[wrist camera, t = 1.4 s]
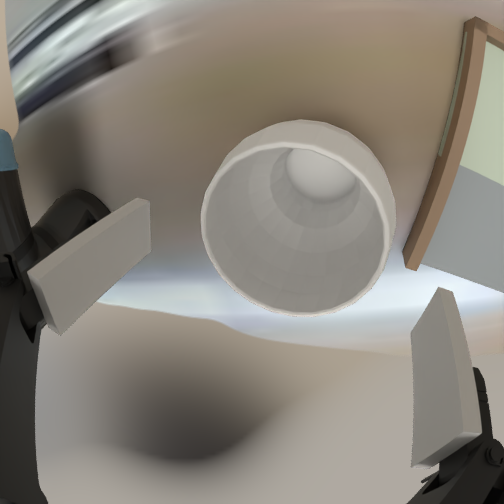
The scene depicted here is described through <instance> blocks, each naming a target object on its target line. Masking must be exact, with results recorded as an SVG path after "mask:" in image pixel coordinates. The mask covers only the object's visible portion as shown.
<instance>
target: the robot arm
mask: <svg viewBox="0 0 504 504" xmlns="http://www.w3.org/2000/svg"><path fill="white" fill-rule="evenodd" d="M18 168H19V167H18V163H17V162H16V159H15V155H14V150H13V145H12V140H11V137H10V135H9V134H8V132H6V131H5V130H2V129H0V504H48V502H47V499H46V497H45V495H44V494H43V492H42V491H41V489H40V486H39V481H38V472H37V461H36V446H35V388H36V387H35V386H36V372H37V361H38V351H39V342H40V335H41V329H42V328H43V327H44V326H45V325H46V324H47V325H48V327H49V328H50V329H51V330H53V331H54V332H55V333H57V334H58V335H60V336H61V335H62V334H63V333H64V332H65V331H66V330H67V329H68V328H69V327H70V326H71V325H72V324H73V323H74V322H75V321H76V320H77V319H78V318H79V317H80V316H81V315H82V314H83V313H84V312H85V311H87V310H88V308H90V307H91V306H92V305H93V304H94V303H95V302H96V301H97V300H98V299H99V298H100V297H101V296H102V295H103V294H104V293H105V292H106V291H108V290H109V289H110V288H111V287H112V286H113V285H114V284H115V283H116V282H117V281H118V280H119V279H121V278H122V277H123V276H124V275H125V274H126V273H127V272H128V271H129V270H130V269H132V268H133V267H134V266H135V265H136V264H137V263H138V262H139V261H140V260H142V259H143V258H144V257H145V256H146V255H147V254H148V253H150V252H151V251H152V250H151V228H150V201H149V200H145V199H141V198H135V199H134V200H132V201H130V202H129V203H127V204H125V205H124V206H122V207H120V208H119V209H117V210H116V211H114V212H112V213H110V212H109V211H108V209H107V208H106V207H105V206H104V205H103V203H102V202H101V201H99V200H98V199H97V198H96V197H95V196H93V195H92V194H90V193H88V192H86V191H83V190H72V191H70V192H68V193H66V194H64V195H62V196H61V197H59V198H58V199H57V200H56V201H55V202H54V203H53V205H52V206H51V207H50V208H49V209H48V210H47V211H46V213H45V214H44V215H43V216H42V217H41V219H40V220H39V221H38V222H37V224H36V225H34V226H33V227H31V226H30V222H29V219H28V215H27V211H26V207H25V203H24V199H23V195H22V190H21V185H20V180H19V175H18V170H17V169H18ZM411 345H412V361H413V387H414V419H413V445H412V446H413V447H412V460H411V468H423V469H429V468H431V467H433V466H434V465H436V464H438V463H439V471H437V472H436V473H434V474H432V475H430V476H428V477H427V478H425V479H423V480H422V481H421V483H424V482H426V481H428V482H427V483H426V484H425V485H424V486H423V487H422V488H421V489H420V490H419V491H418V493H417V494H416V495H415V496H414V497H413V498H412V499H411V500H410V501H409V502H408V503H407V504H504V448H503V446H502V444H501V443H500V442H499V441H497V440H496V439H493V434H492V425H491V417H490V410H489V404H488V403H487V402H488V398H487V394H486V386H485V381H484V378H483V376H482V374H481V373H480V371H479V369H478V368H475V367H472V362H471V358H470V353H469V349H468V345H467V340H466V336H465V333H464V329H463V325H462V321H461V318H460V314H459V311H458V307H457V304H456V301H455V298H454V295H453V292H452V291H449V290H446V289H443V288H440V287H438V288H437V290H436V292H435V294H434V296H433V297H432V299H431V301H430V302H429V304H428V306H427V308H426V309H425V311H424V312H423V314H422V316H421V317H420V319H419V321H418V322H417V324H416V325H415V327H414V328H413V330H412V332H411Z"/></svg>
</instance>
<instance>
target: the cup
mask: <svg viewBox="0 0 504 504" xmlns="http://www.w3.org/2000/svg"><path fill="white" fill-rule="evenodd" d="M200 215H201V233H202V238H203V242H204V245H205V248H206V251H207V254H208V257H209V258H210V260H211V262H212V263H213V265H214V267H215V268H216V270H217V272H218V273H219V275H220V276H221V277H222V278H223V279H224V280H225V281H226V282H227V283H228V285H229V286H230V287H231V288H232V289H233V290H234V291H236V292H237V293H238V294H240V295H241V296H243V297H244V298H245V299H247V300H248V301H250V302H251V303H253V304H255V305H257V306H260V307H262V308H264V309H266V310H269V311H271V312H275V313H279V314H284V315H288V316H293V317H316V316H321V315H325V314H330V313H335V312H337V311H339V310H341V309H343V308H345V307H348V306H350V305H352V304H354V303H355V302H357V301H358V300H359V299H360V298H361V297H362V296H364V295H365V294H366V293H367V292H368V291H369V290H370V289H372V287H373V286H374V284H375V283H376V281H377V280H378V278H379V276H380V275H381V273H382V272H383V270H384V268H385V264H386V261H387V258H388V255H389V252H390V249H391V245H392V241H393V237H394V234H395V230H396V204H395V199H394V196H393V193H392V190H391V187H390V184H389V182H388V179H387V176H386V173H385V171H384V168H383V166H382V165H381V164H380V162H379V161H378V159H377V158H376V157H375V155H374V154H373V152H372V151H371V150H370V148H369V147H367V146H366V145H365V144H364V143H363V142H361V141H360V140H359V139H357V138H356V137H355V136H354V135H352V134H351V133H350V132H348V131H346V130H343V129H341V128H339V127H336V126H334V125H331V124H329V123H326V122H320V121H312V120H303V119H300V120H293V121H287V122H281V123H276V124H274V125H271V126H269V127H266V128H264V129H262V130H260V131H258V132H256V133H254V134H252V135H250V136H248V137H246V138H244V139H243V140H242V141H241V142H240V143H239V144H238V145H237V146H236V147H235V148H234V149H233V150H232V151H230V152H229V153H228V154H227V156H226V158H225V159H224V161H223V162H222V164H221V166H220V167H219V169H218V171H217V172H216V174H215V176H214V178H213V179H212V181H211V183H210V185H209V186H208V188H207V190H206V192H205V195H204V200H203V204H202V209H201V213H200Z"/></svg>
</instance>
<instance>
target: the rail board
mask: <svg viewBox="0 0 504 504" xmlns="http://www.w3.org/2000/svg"><path fill="white" fill-rule="evenodd" d="M402 253H403V258H404V263H405V268H408V269H411V270H414V271H417V269H418V267H419V265H420V263H421V264H424V265H427V266H430V267H433V268H435V269H438V270H441V271H444V272H447V273H450V274H453V275H456V276H459V277H461V278H464V279H467V280H470V281H473V282H476V283H478V284H481V285H484V286H487V287H489V288H492V289H495V290H497V291H500V292H503V293H504V32H503V31H501V30H500V29H498V28H496V27H494V26H493V25H491V24H489V23H487V22H485V21H483V20H482V19H480V18H478V17H476V16H475V17H474V18H472V19H470V20H468V21H467V22H465V23H464V31H463V40H462V47H461V54H460V61H459V67H458V72H457V78H456V83H455V88H454V93H453V98H452V102H451V107H450V111H449V115H448V119H447V123H446V127H445V131H444V135H443V138H442V142H441V145H440V149H439V152H438V156H437V159H436V162H435V165H434V169H433V172H432V175H431V178H430V181H429V184H428V187H427V190H426V192H425V195H424V198H423V201H422V204H421V206H420V209H419V212H418V214H417V217H416V220H415V222H414V225H413V227H412V230H411V232H410V235H409V237H408V239H407V242H406V244H405V247H404V249H403V251H402Z"/></svg>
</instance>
